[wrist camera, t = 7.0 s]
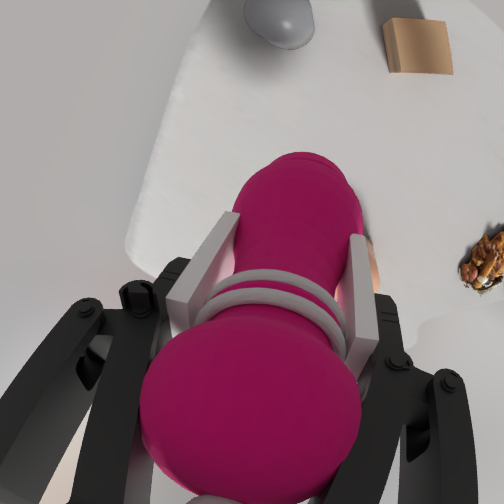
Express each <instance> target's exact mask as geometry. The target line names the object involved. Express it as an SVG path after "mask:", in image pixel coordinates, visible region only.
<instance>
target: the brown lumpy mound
mask: <svg viewBox="0 0 504 504" xmlns="http://www.w3.org/2000/svg"><path fill="white" fill-rule="evenodd" d="M471 252H472V254H473V257H472V259H471V261H470V263H469V264H467V265H466V264H464V263H463V264H462V265H461V266H460V268H459V276H460V277H459V278H460V280H461V281H464V286H465V287H466V288H467V287H468V286H467V285H470V286H471V287H472V288H473V290H475V291H477V292H478V293H479V294H482V295H485V293H487V292H488V291H491V290H492V289H493V288H494V287H496V286H499V284H500V283H501V282H502V280H503V276H502V274H503V273H504V232H500V233H498V234H497V235H496V236H495V237H494V238H493V239H492V240H491V241H489V237H487V235H486V234H484V235H483V238H482V239H481V240H480V241H479V242H478V243H477V245H476V246H475V247H474V248H473V250H472V251H471ZM494 267H495V268H494ZM491 282H493V283H492V285H491V286H489V287H485V286H483V284H486V285H489V284H490V283H491ZM468 288H469V287H468Z"/></svg>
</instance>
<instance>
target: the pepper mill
mask: <svg viewBox="0 0 504 504" xmlns="http://www.w3.org/2000/svg"><path fill="white" fill-rule="evenodd" d="M232 212H234V213H240V218H239V222H238V226H237V231H236V236H235V243H234V260H235V265H234V272H233V275H231V276H229V277H227V278H225V279H223V280H222V281H220V282H219V283H218V284H216V285H215V286H214V287H213V288H212V290H211V291H210V293H209V294H208V296H207V297H206V299H205V302H204V304H203V307H202V309H201V310H200V311H199V313H198V314H197V316H196V319H195V322H194V325H193V327H192V328H190V329H188V330H186V331H184V332H181V333H179V334H178V335H176V336H175V337H174V338H172V339H171V340H169V341H168V342H167V343H166V345H165V346H164V347H163V348H162V349H161V351H160V352H159V353H158V354H157V356H156V357H155V358H154V360H153V361H152V363H151V364H150V366H149V368H148V370H147V373H146V375H145V377H144V380H143V385H142V390H141V395H140V404H139V423H140V431H141V436H142V440H143V444H144V446H145V448H146V449H147V451H148V453H149V454H150V456H151V458H152V460H153V461H154V462H155V463H156V464H157V466H158V467H159V468H160V469H161V470H162V471H163V472H164V474H166V475H167V476H168V477H169V478H171V479H172V480H173V481H175V482H176V483H177V484H179V485H180V486H181V487H183V488H185V489H187V490H188V491H191V492H192V493H194V494H196V495H198V497H195V498H193V499H191V500H190V501H189V502H188V503H186V504H297V503H300V502H303V501H305V500H307V499H309V498H311V497H313V496H315V495H317V494H319V493H321V492H322V490H323V489H324V488H325V487H326V485H327V484H328V483H329V482H330V480H331V479H332V478H333V476H334V475H335V473H336V471H337V470H338V468H339V466H340V464H341V463H342V461H344V460H345V459H346V457H347V455H348V454H349V452H350V450H351V448H352V446H353V444H354V442H355V440H356V438H357V435H358V431H359V426H360V421H361V416H362V407H361V399H360V391H359V387H358V385H357V383H356V380H355V378H354V376H353V374H352V372H351V371H350V370H349V369H348V367H347V366H346V365H345V364H344V361H345V357H346V342H345V338H346V329H347V328H346V322H345V317H344V315H343V312H342V310H341V308H340V306H339V305H338V303H337V302H336V301H335V299H334V297H335V291H336V288H337V285H338V283H339V281H340V279H341V278H342V276H343V274H344V270H345V266H346V261H347V255H348V248H349V240H350V236H351V235H352V234H359V235H363V217H362V210H361V206H360V203H359V200H358V198H357V196H356V195H355V193H354V191H353V189H352V188H351V187H350V186H349V184H348V183H347V180H346V178H345V176H344V175H343V173H342V172H341V170H340V169H339V168H338V167H337V166H336V165H335V164H334V163H333V162H331V161H330V160H328V159H326V158H325V157H323V156H320V155H317V154H315V153H310V152H294V153H289V154H286V155H283V156H281V157H279V158H277V159H276V160H274V161H273V162H272V163H271V164H270V165H268V166H266V167H265V168H263V169H261V170H260V171H258V172H256V173H255V174H254V175H253V176H252V177H251V178H250V179H249V180H248V181H247V182H246V183H245V185H244V186H243V188H242V189H241V191H240V193H239V195H238V197H237V199H236V201H235V204H234V207H233V210H232Z"/></svg>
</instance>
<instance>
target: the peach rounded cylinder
mask: <svg viewBox="0 0 504 504" xmlns="http://www.w3.org/2000/svg"><path fill="white" fill-rule="evenodd" d="M365 238H366V244H367V250H368V256H369V262H370V269H371V275H372V282H373V290H374V293H376V292H377V291H378V289H379V286H380V277H379V272H378V267H377V263H376V258H375V253H374V249H373V245H372V243H371V241H370V240H369V239H368V238H367V237H366V236H365ZM334 299H335V300H337V288H336V291H335V297H334Z"/></svg>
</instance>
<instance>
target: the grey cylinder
mask: <svg viewBox="0 0 504 504" xmlns="http://www.w3.org/2000/svg"><path fill="white" fill-rule="evenodd" d="M244 17H245V20H246V22H247V24H248V26H249V27H250V29H251V30H252V31H253V32H255V33H256V34H257V35H259V36H260V37H262V38H264V39H265V40H267V41H268V42H270V43H271V44H273V45H275V46H276V47H279V48H282V49H288V50H291V49H297V48H300V47H302V46H304V45H306V44H307V43H308V42H309V41H310V40H311V38H312V36H313V34H314V28H315V27H314V20H313V13H312V7H311V4H310V1H309V0H247V1H246V3H245V7H244Z"/></svg>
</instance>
